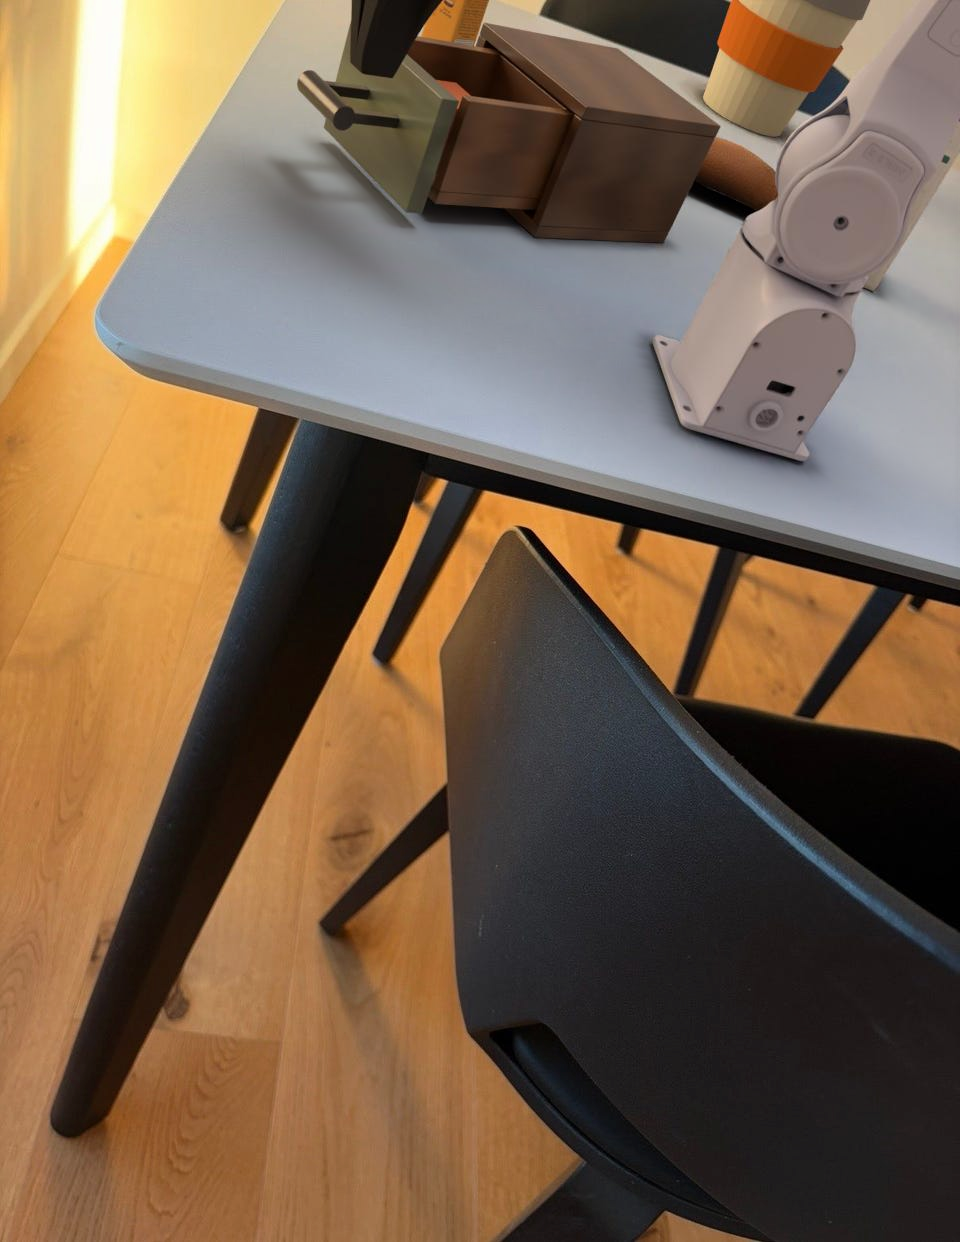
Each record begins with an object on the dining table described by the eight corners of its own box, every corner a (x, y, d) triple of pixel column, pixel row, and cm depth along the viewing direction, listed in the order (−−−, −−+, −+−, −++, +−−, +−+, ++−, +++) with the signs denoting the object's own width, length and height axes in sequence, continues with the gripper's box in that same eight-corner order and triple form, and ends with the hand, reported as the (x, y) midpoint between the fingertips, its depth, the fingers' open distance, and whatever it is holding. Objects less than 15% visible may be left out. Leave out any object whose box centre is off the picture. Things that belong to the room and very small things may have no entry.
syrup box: (875, 293, 88) (990, 114, 79) (808, 263, 88) (916, 79, 79) (869, 267, 93) (977, 94, 83) (805, 239, 92) (907, 61, 83)
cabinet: (534, 237, 72) (587, 106, 67) (441, 149, 77) (483, 21, 72) (664, 243, 80) (721, 126, 74) (571, 162, 85) (617, 48, 80)
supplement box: (465, 83, 90) (509, -49, 84) (438, 83, 88) (481, -54, 81) (437, 64, 91) (478, -69, 85) (409, 63, 89) (450, -73, 82)
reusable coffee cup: (735, 136, 108) (817, -29, 98) (664, 77, 114) (735, -82, 105) (819, 152, 115) (903, 0, 105) (747, 96, 122) (820, -51, 112)
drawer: (341, 209, 63) (375, 89, 58) (260, 120, 68) (285, 4, 63) (548, 220, 72) (590, 118, 68) (464, 142, 77) (498, 43, 73)
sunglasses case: (764, 189, 96) (800, 136, 90) (744, 252, 94) (780, 202, 88) (574, 104, 95) (597, 44, 88) (549, 166, 92) (571, 109, 86)
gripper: (304, -314, 51) (243, -2, 59) (473, -205, 44) (376, 130, 52) (427, -266, 55) (353, 18, 64) (599, -160, 48) (490, 143, 57)
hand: (371, 70), depth 58 cm, fingers closed
